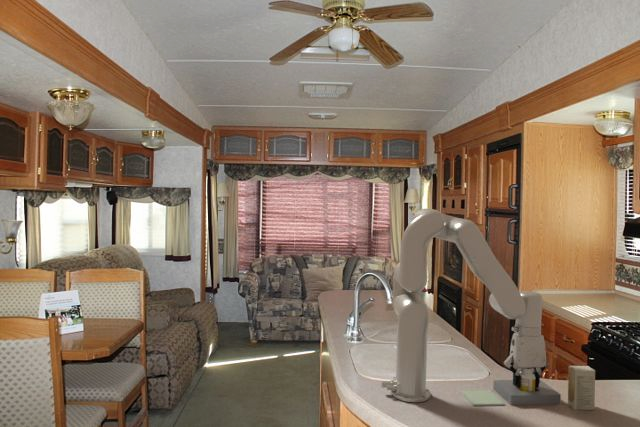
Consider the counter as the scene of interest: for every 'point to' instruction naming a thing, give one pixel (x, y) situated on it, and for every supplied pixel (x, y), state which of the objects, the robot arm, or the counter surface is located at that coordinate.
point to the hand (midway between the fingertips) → (526, 385)
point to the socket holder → (526, 394)
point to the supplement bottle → (527, 379)
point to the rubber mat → (482, 398)
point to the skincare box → (581, 388)
